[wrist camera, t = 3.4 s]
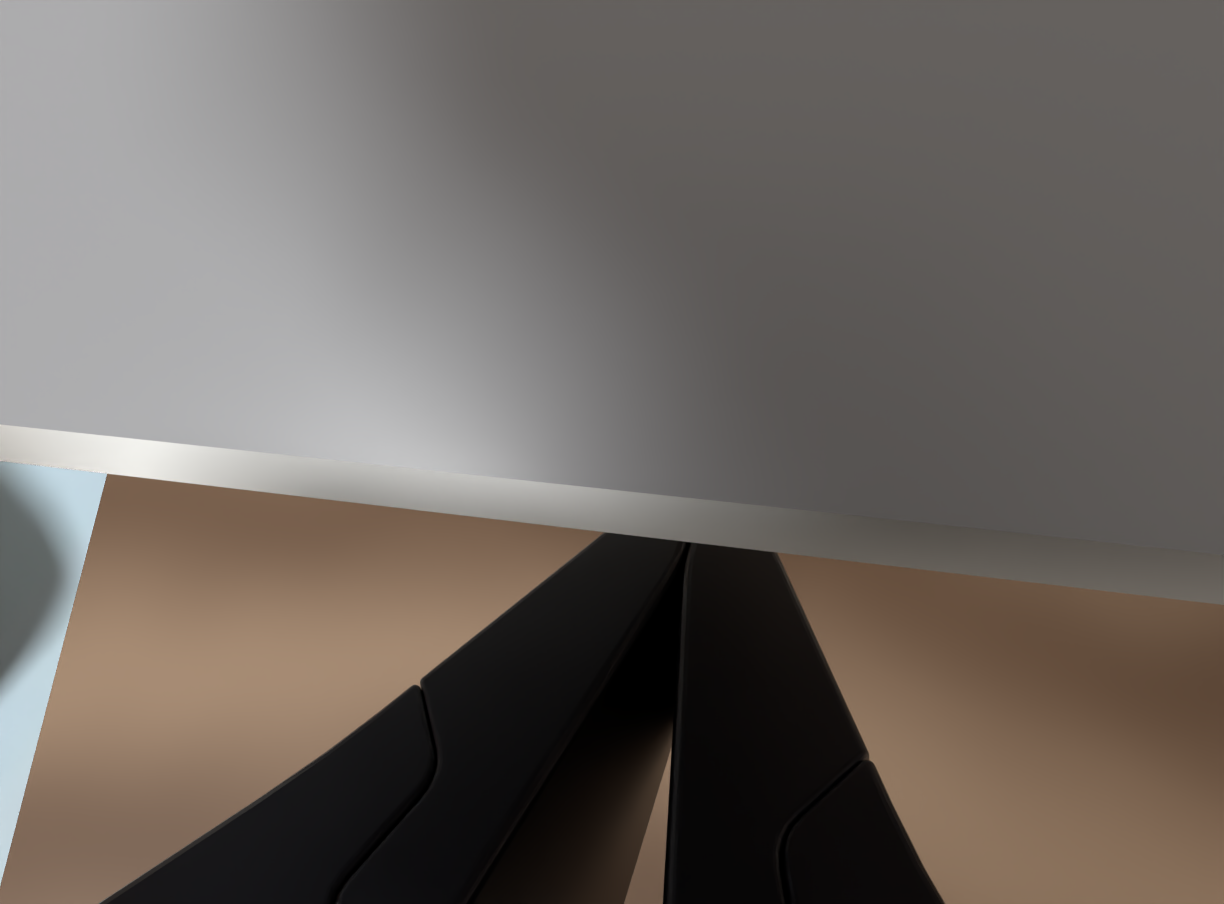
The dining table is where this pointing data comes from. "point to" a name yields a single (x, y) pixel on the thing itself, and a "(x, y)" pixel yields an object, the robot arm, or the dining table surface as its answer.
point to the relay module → (639, 268)
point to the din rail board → (860, 662)
